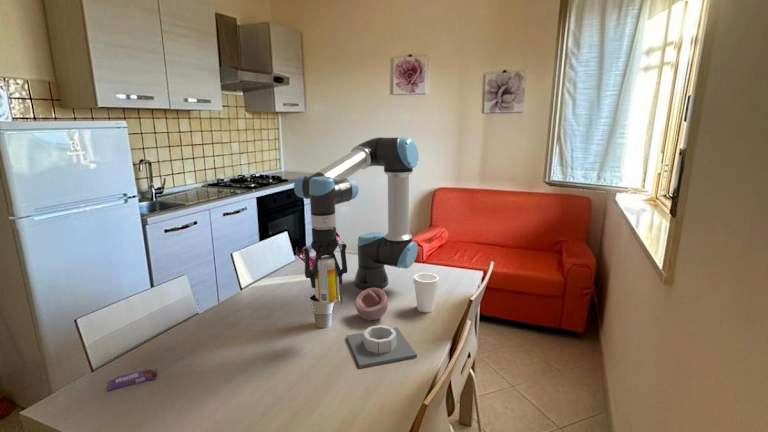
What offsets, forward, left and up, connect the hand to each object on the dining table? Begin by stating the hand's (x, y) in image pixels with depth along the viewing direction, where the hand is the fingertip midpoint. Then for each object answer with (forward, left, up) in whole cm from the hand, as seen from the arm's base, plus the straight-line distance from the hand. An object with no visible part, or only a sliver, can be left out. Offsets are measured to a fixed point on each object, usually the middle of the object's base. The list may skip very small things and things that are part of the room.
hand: (327, 295), depth 130 cm
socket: (+10, +15, -16) cm, 24 cm away
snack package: (+5, -56, -17) cm, 59 cm away
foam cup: (-11, +40, -16) cm, 44 cm away
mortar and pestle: (-10, +18, -16) cm, 26 cm away
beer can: (0, 0, -2) cm, 2 cm away
